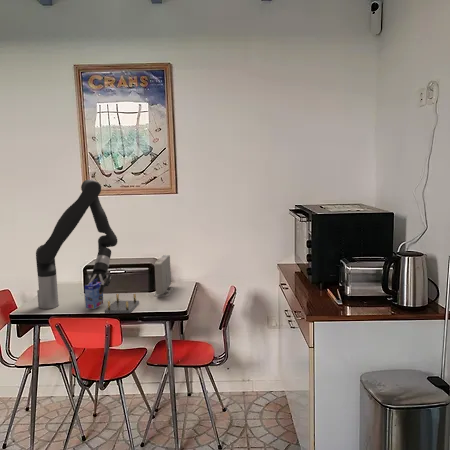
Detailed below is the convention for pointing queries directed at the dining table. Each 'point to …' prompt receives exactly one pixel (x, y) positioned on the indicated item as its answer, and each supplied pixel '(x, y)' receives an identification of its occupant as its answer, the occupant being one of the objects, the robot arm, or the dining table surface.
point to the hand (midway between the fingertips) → (94, 292)
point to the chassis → (122, 306)
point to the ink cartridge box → (93, 295)
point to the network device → (163, 276)
